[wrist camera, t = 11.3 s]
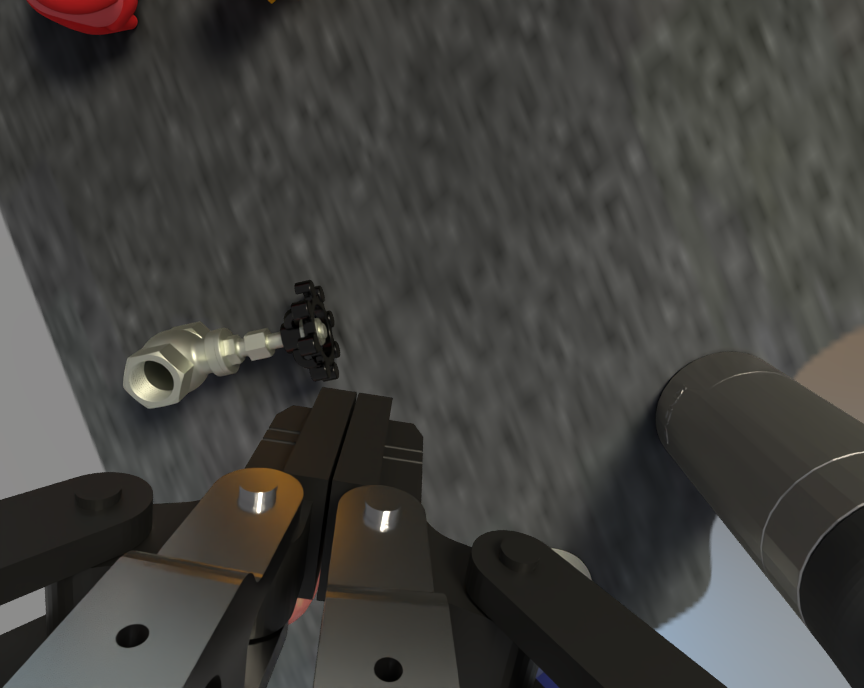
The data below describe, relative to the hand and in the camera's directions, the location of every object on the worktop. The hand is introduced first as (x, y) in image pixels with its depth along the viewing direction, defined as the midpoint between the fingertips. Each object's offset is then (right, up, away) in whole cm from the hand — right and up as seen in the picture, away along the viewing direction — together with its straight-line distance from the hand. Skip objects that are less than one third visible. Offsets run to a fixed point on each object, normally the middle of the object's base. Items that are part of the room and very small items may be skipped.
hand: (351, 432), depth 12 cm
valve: (-11, +3, +28) cm, 30 cm away
